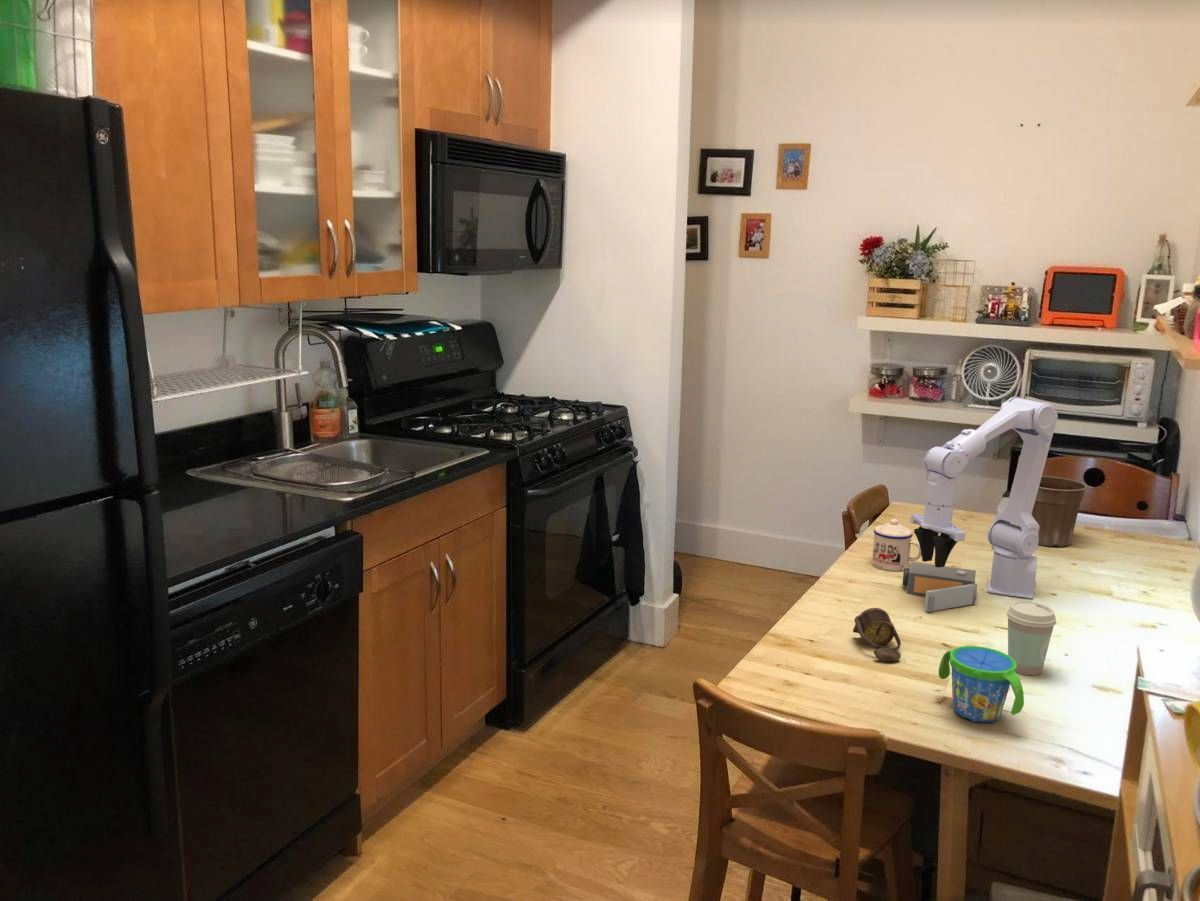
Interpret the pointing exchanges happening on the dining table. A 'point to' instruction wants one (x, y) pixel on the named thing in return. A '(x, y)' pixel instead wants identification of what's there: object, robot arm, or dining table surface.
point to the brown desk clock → (878, 633)
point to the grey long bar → (950, 597)
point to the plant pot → (1057, 509)
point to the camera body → (934, 578)
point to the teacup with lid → (893, 546)
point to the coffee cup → (1029, 635)
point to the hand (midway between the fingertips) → (933, 563)
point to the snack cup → (981, 682)
